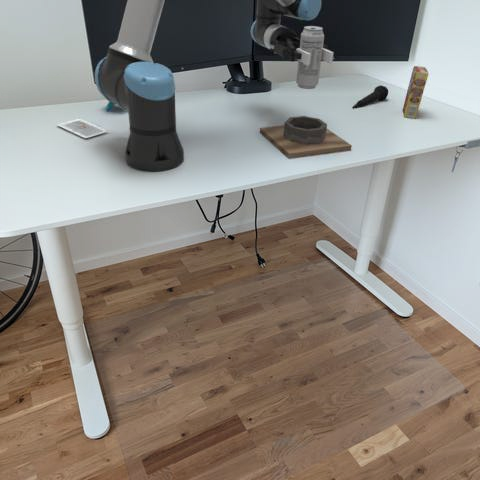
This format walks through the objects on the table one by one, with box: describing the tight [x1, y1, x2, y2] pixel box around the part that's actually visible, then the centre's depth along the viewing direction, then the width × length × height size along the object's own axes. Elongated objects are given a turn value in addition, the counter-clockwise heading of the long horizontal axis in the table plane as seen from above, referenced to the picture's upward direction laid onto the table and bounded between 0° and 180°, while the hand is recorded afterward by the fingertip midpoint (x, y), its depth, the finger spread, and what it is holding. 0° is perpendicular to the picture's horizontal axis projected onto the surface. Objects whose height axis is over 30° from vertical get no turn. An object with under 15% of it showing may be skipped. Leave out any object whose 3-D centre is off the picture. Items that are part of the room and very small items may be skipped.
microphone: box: [352, 84, 389, 109], centre depth 168 cm, size 6×6×20 cm
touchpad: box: [56, 118, 109, 139], centre depth 136 cm, size 8×15×2 cm, turn 49°
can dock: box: [259, 115, 352, 159], centre depth 135 cm, size 20×20×6 cm
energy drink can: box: [295, 25, 325, 90], centre depth 123 cm, size 6×6×15 cm
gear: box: [105, 101, 115, 112], centre depth 151 cm, size 11×6×10 cm
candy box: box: [402, 65, 429, 119], centre depth 156 cm, size 9×4×15 cm, turn 167°
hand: (320, 58), depth 118 cm, fingers closed on energy drink can, 6 cm apart
